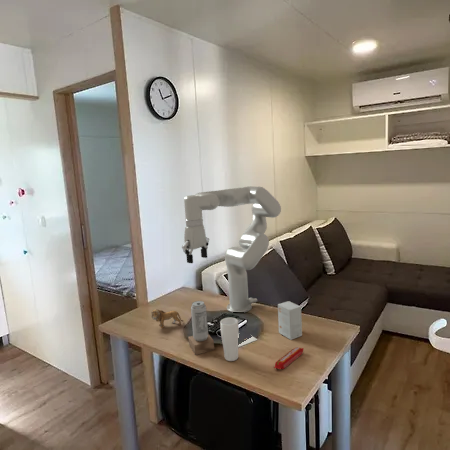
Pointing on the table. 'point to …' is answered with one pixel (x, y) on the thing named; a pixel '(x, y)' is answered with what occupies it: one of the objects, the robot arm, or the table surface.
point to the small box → (290, 320)
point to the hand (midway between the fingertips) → (197, 260)
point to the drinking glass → (230, 338)
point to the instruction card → (247, 341)
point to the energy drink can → (199, 321)
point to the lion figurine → (165, 316)
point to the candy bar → (288, 358)
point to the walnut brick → (201, 345)
